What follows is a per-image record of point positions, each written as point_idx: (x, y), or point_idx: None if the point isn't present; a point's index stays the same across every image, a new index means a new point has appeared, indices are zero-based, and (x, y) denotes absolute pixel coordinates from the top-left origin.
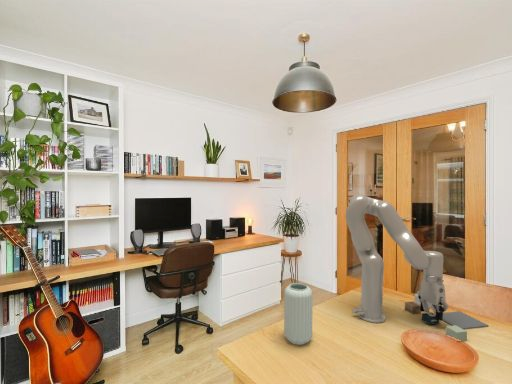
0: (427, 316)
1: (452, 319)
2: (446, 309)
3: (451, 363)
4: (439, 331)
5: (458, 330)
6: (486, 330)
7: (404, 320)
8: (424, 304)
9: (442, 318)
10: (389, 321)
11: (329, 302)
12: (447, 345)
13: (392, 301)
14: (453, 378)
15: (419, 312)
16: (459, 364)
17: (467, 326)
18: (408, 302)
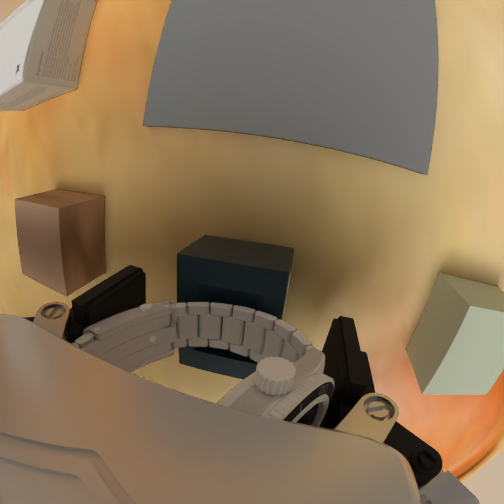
0: (240, 378)
1: (283, 46)
2: (440, 460)
3: (460, 460)
4: (359, 343)
5: (494, 364)
6: (466, 7)
7: (169, 387)
8: None
9: (354, 327)
10: None
11: None
12: (438, 415)
13: (3, 228)
14: (464, 479)
15: (99, 210)
16: (478, 447)
17: (423, 63)
18: (23, 252)
